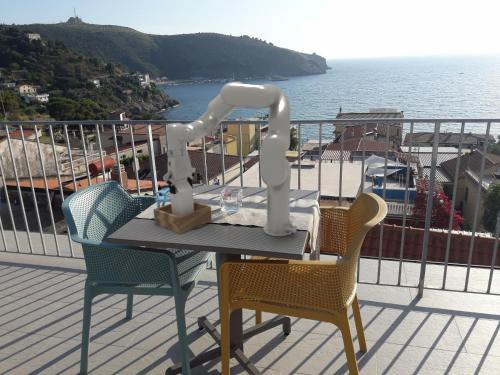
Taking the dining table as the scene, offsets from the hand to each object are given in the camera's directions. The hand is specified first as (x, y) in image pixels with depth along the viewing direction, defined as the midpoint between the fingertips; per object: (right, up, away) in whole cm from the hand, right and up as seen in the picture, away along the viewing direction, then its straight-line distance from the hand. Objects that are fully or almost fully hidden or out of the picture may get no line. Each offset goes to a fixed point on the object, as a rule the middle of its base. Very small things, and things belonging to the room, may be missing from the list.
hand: (181, 190), depth 168 cm
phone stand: (-11, -10, +19) cm, 24 cm away
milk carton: (0, -14, +4) cm, 14 cm away
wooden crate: (0, -14, +5) cm, 15 cm away
